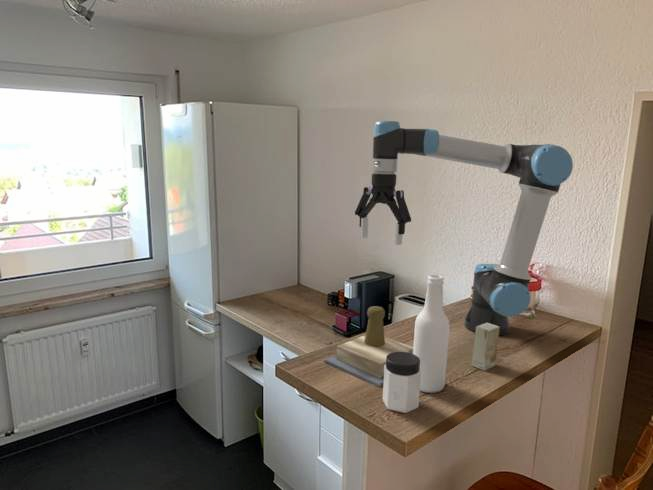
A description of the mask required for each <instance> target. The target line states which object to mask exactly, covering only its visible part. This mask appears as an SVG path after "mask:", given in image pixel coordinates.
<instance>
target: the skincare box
mask: <svg viewBox="0 0 653 490" xmlns="http://www.w3.org/2000/svg"><path fill="white" fill-rule="evenodd" d="M499 328H500V327H499V326H496V325H493V324H490V323H485V324H481V325H479V326H476V332H474V342H473V343H474V344H473V351H472V360H471V361H472V362H471V366H472V367H475V368H477V369H479V370H482V371H487V370H489V369H491V368H494V367H495V366H496V361H497V352H498V344H499V336H500V335H499Z"/></svg>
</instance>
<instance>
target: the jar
mask: <svg viewBox="0 0 653 490" xmlns="http://www.w3.org/2000/svg"><path fill="white" fill-rule="evenodd" d="M420 378H421V372H420V359H419V357H417V356H416V355H414V354H411V353H407V352H393V353H390V354H388V355H387V357H386V365H385V366H384V383H383V385H382V387H383V388H382V401H383V403H384V405H385V407H386V409H387V410H391V411H394V412H395V411H396V412H399V413H405V414H407V413H409V412H411V411H413V410H416V409H418V408H419V406H420V405H419V403H420V392H421V391H420Z"/></svg>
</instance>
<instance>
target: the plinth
mask: <svg viewBox="0 0 653 490" xmlns="http://www.w3.org/2000/svg"><path fill="white" fill-rule="evenodd" d="M365 336H366V334H364V335H362V336H359V337H356V338H355V339H351V340H349V341H347V342H344V343H341V344H339V345H337V346H336V354H334V355H333V356H330V357H328V358H325V359H324V361H323V363H325V364H327V365H330V366H332V367H334V368H337V369H339V370H341V371H343V372H345V373H348V374H350V375H352V376H354V377H356V378H358V379H361V380H363V381H365V382H368V383H370V384H372V385H373V386H376V387H382V386H383V383H384V366H385V365H386V357H387V355H388V354H390V353H393V352H407V353H411V354H413V346H411V345H408V344H405V343H403V342H399V341H397V340H395V339H391V338H389V337H385V336H384V340H385V344H384V345H383V346H380V347H372V346H368V345H366V344H365V343H364V341H365Z"/></svg>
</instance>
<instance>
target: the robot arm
mask: <svg viewBox="0 0 653 490" xmlns="http://www.w3.org/2000/svg"><path fill="white" fill-rule="evenodd" d="M372 137H373V142H372V143H373V144H372V148H373V149H372V165H371V166H372V168H371V169H372V170H371V171H372V172H373V173H372V174H371V185H372V186H367V187H366V186H365V187H363V193H362V195H361V198H360V200H359V202H358V204H357V206H356V208H355V211H354V215H355V216H358V217H359V226H358V227H359V228H360V239H367V238H368V236H369V235H368V233H369V231H368V229H369V217H368V215H369V214H370V212H371V211H372V210H373V209H374V207H375V206H376V205H377V204H383V205H386V206H387V207H389V208H390V211H391V212H392V214H393V216H394V218H395V219H396V221H397V222H396V223H395V233H394V246H400V245H403V235H405V232H406V224H407V223H411V222H412V217H411V214H410V212H409V209H408V205H407V203H406V200H405V192H404V190H403V189H401V190H399V189H398V190H396V185H397V174H396V173H398V159H399V158H398V156H399V154H401V155H403V154H407V155H418V156H424V157H429V158H435V159H441V160H445V161H451V162H457V163H461V164H467V165H468V164H469V165H475V166H479V167H484V168H489V169H490V168H492V169H497V170H498V172H499V173H501V174H507V175H510V176H514V177H516V178H519V182H518V186H519V188H520V190H521V192H520V196H519V199H518V202H517V206H516V209H515V213H514V216H513V219H512V223H511V227H510V229H509V232H508V236H507V239H506V243H505V245H504V249H503V251H502V256H501V259H500V261H499V264H498V263H479V264H477V265H475V267H474V271H473V285H472V295H471V305H470V308H469V309H468V310H467V314H466V316H465V318H464V327H465V328H466V329H467V330H469V331H471V332H473V333H475V332H476V326H479V325H481V324H485V323H490V324H493V325H496V326H499V327H500V328H499V336H503V335H507V334H508V333H510V319H509V317H516V316H518V315H520V314H523V313H524V312H525V311H526V310H527V309H528V307H529V305H530V304H531V303H530V302H531V298H532V297H531V294H530V291H529V286H530V282H531V276H530V273H529V268H530V265H531V262H532V258H533V256H534V252H535V249H536V245H537V243H538V240H539V235H540V233H541V231H542V226H543V224H544V220H545V217H546V214H547V211H548V207H549V205H550V201H551V198H552V197H554V196H556V195H557V194H559V190H560V188H561V184H563V183H565V181H567V180H568V178H570V176H571V174H572V172H573V167H574V165H573V158H572V156H571V155H570V153H569V151H568V150H567V149H565V148H564V147H562V146H561V145H556V144H550V143H546V144H521V145H520V144H512V143H506V144H505V145H499V144H494V143H489V142H482V141H477V140H471V139H465V138H459V137H455V136H454V137H453V136H449V135H442V134H440V133H439V131H438V130H437V129H432V128H401V126H400V122H399V121H396V120H378V121H376V122H375V124H374V130H373V136H372ZM371 196H372V197H371Z"/></svg>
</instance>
